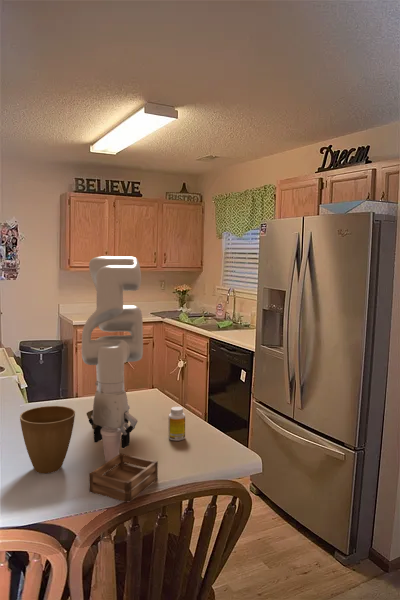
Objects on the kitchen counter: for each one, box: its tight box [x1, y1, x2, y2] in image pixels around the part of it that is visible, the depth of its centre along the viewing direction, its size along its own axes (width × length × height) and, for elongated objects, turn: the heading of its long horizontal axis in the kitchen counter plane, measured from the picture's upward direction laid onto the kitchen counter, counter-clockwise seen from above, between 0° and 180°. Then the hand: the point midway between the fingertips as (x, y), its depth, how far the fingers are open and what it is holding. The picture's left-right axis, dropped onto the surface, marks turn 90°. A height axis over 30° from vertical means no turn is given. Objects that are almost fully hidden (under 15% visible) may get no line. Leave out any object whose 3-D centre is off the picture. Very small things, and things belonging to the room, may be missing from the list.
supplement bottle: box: [167, 406, 186, 442], centre depth 159 cm, size 6×6×10 cm
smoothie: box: [101, 427, 123, 463], centre depth 141 cm, size 6×6×14 cm
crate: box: [88, 452, 159, 503], centre depth 126 cm, size 14×12×5 cm
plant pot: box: [19, 405, 76, 474], centre depth 136 cm, size 15×15×16 cm
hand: (111, 443), depth 141 cm, fingers open, 9 cm apart
